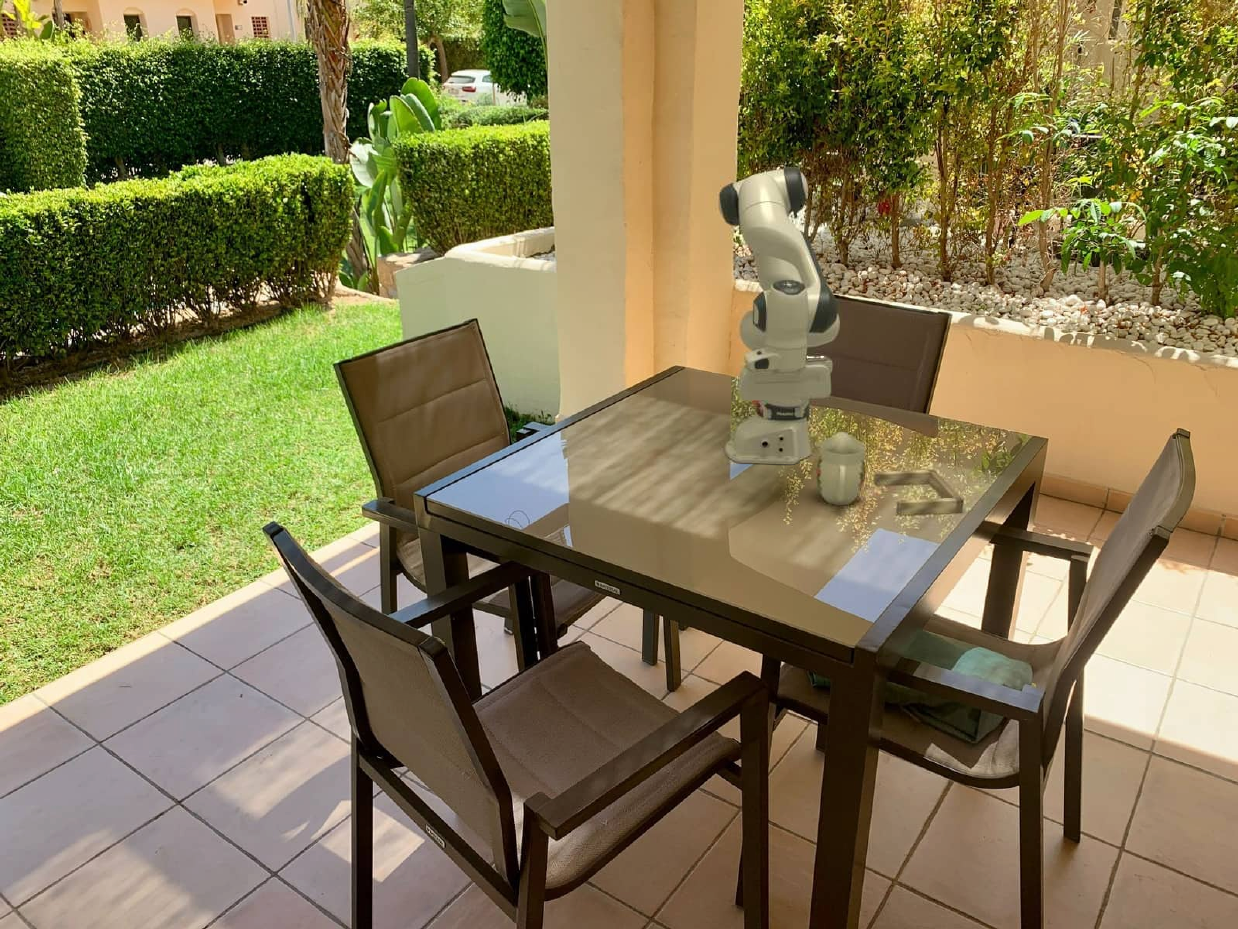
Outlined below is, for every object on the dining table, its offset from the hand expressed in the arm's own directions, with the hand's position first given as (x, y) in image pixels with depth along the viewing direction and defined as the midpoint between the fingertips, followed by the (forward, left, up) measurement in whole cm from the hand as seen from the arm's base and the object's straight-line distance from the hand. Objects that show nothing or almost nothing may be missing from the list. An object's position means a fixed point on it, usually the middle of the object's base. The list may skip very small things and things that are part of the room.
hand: (783, 417), depth 206 cm
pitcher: (+14, 0, -21) cm, 25 cm away
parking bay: (+32, 0, -21) cm, 38 cm away
